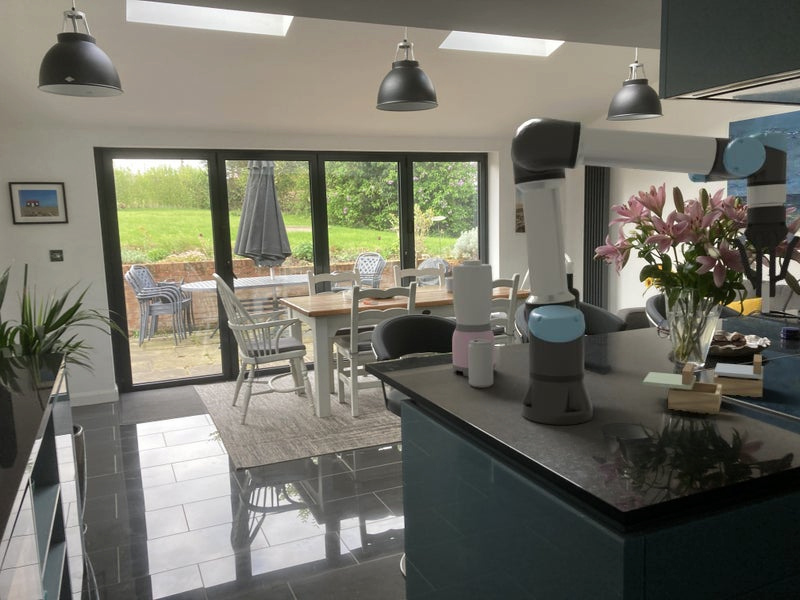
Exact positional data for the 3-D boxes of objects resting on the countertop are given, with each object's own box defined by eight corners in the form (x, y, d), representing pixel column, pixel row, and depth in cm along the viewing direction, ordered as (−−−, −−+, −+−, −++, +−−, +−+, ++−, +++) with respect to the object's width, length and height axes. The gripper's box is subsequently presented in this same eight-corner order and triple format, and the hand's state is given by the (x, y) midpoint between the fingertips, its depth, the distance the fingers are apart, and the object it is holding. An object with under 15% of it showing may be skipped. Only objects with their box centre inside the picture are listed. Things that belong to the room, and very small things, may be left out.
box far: (762, 400, 145) (762, 381, 144) (713, 395, 150) (714, 377, 149) (762, 389, 153) (763, 372, 153) (716, 385, 158) (717, 368, 158)
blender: (500, 375, 176) (499, 260, 172) (458, 377, 174) (456, 262, 171) (485, 363, 192) (483, 257, 188) (446, 365, 190) (443, 259, 186)
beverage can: (474, 381, 170) (474, 337, 168) (497, 383, 167) (496, 339, 165) (464, 386, 164) (464, 341, 163) (487, 389, 161) (487, 343, 160)
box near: (718, 414, 135) (719, 394, 134) (668, 409, 140) (668, 390, 139) (721, 403, 144) (721, 384, 143) (673, 398, 149) (674, 379, 148)
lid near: (691, 389, 137) (691, 372, 137) (642, 384, 142) (643, 368, 142) (695, 379, 146) (696, 363, 145) (649, 375, 151) (650, 359, 150)
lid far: (762, 379, 144) (763, 362, 144) (714, 374, 149) (714, 359, 149) (763, 369, 153) (763, 354, 152) (717, 366, 158) (717, 351, 157)
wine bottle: (576, 363, 188) (576, 262, 184) (557, 361, 191) (557, 262, 187) (581, 359, 193) (582, 261, 189) (563, 357, 196) (563, 261, 192)
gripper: (801, 203, 138) (799, 309, 141) (733, 207, 145) (733, 309, 147) (801, 203, 132) (800, 314, 134) (731, 207, 138) (731, 313, 141)
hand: (765, 311), depth 141 cm, fingers closed
